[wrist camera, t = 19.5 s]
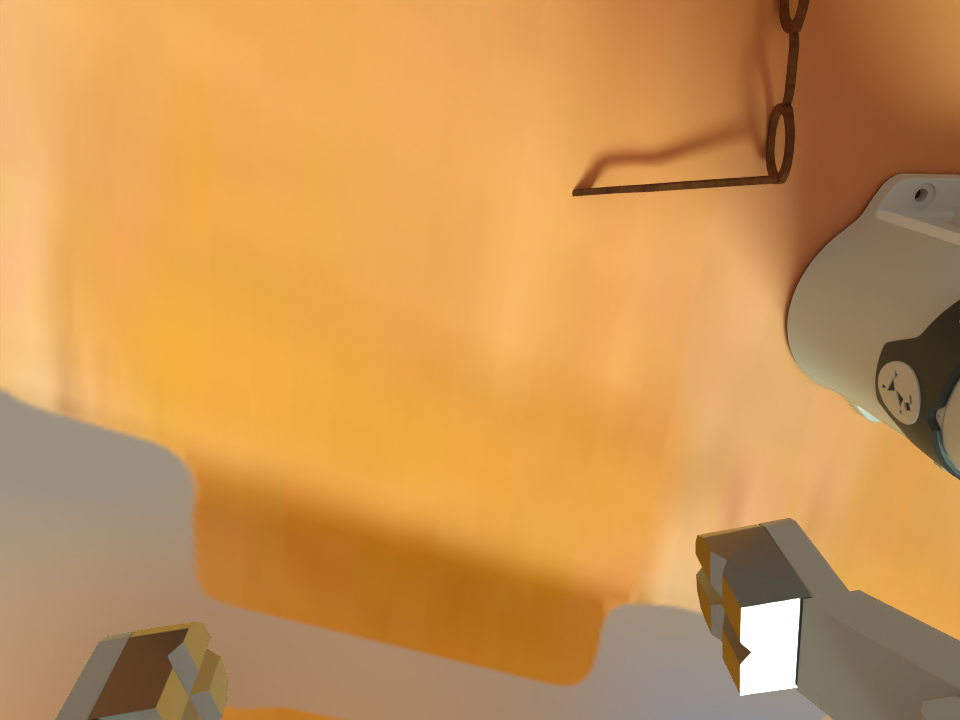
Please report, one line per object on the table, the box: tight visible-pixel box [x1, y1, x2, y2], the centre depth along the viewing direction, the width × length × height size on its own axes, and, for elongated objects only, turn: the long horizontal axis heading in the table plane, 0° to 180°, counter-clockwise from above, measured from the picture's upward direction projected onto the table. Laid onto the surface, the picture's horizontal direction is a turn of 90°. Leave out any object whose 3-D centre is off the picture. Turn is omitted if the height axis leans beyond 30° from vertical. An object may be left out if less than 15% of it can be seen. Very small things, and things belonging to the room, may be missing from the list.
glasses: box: [573, 0, 809, 196], centre depth 39 cm, size 13×13×5 cm
